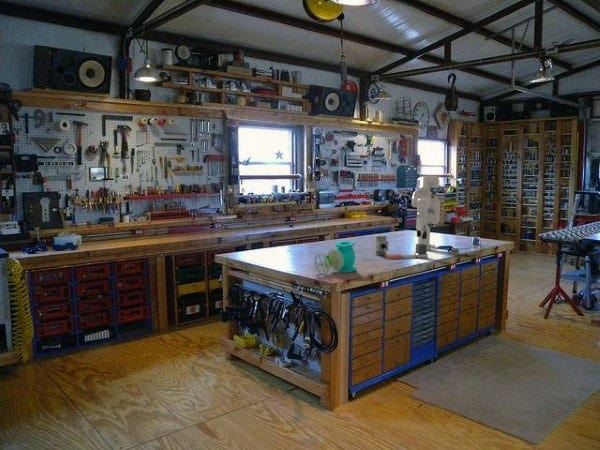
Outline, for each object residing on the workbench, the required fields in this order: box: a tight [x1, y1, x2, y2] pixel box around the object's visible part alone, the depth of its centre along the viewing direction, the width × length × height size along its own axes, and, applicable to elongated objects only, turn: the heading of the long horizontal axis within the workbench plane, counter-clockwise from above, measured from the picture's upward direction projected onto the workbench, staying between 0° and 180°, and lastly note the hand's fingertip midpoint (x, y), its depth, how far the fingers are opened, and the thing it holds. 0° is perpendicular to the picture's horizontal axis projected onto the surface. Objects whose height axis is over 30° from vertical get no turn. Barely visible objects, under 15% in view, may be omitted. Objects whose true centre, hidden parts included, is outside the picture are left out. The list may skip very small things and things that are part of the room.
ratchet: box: [384, 252, 429, 260], centre depth 376 cm, size 33×10×7 cm, turn 101°
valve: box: [314, 240, 357, 276], centre depth 324 cm, size 14×18×30 cm
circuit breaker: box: [372, 234, 389, 256], centre depth 389 cm, size 8×14×15 cm, turn 11°
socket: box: [415, 243, 427, 254], centre depth 378 cm, size 6×6×7 cm
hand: (421, 237), depth 378 cm, fingers open, 9 cm apart
